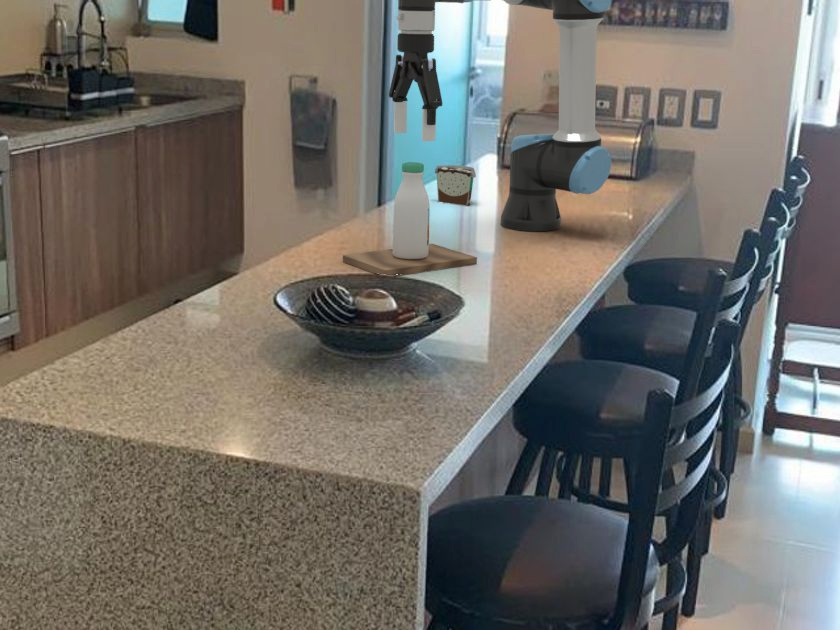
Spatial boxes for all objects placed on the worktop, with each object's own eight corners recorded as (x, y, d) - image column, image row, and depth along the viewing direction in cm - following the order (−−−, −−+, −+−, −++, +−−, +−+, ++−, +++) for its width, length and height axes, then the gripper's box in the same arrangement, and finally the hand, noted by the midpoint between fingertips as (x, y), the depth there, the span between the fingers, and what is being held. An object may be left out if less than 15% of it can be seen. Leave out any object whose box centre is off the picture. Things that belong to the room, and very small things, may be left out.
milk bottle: (424, 261, 245) (427, 167, 240) (388, 258, 246) (390, 164, 241) (431, 253, 252) (434, 162, 247) (396, 251, 254) (399, 159, 248)
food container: (483, 203, 322) (484, 168, 319) (471, 207, 317) (473, 170, 314) (445, 198, 328) (446, 163, 326) (433, 201, 323) (434, 165, 321)
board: (432, 250, 263) (432, 243, 263) (476, 264, 251) (477, 257, 250) (342, 262, 249) (342, 255, 249) (385, 277, 237) (385, 270, 236)
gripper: (374, 29, 246) (373, 130, 252) (427, 35, 224) (424, 145, 230) (406, 29, 249) (404, 129, 255) (461, 35, 228) (457, 143, 234)
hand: (414, 137), depth 243 cm, fingers open, 13 cm apart
